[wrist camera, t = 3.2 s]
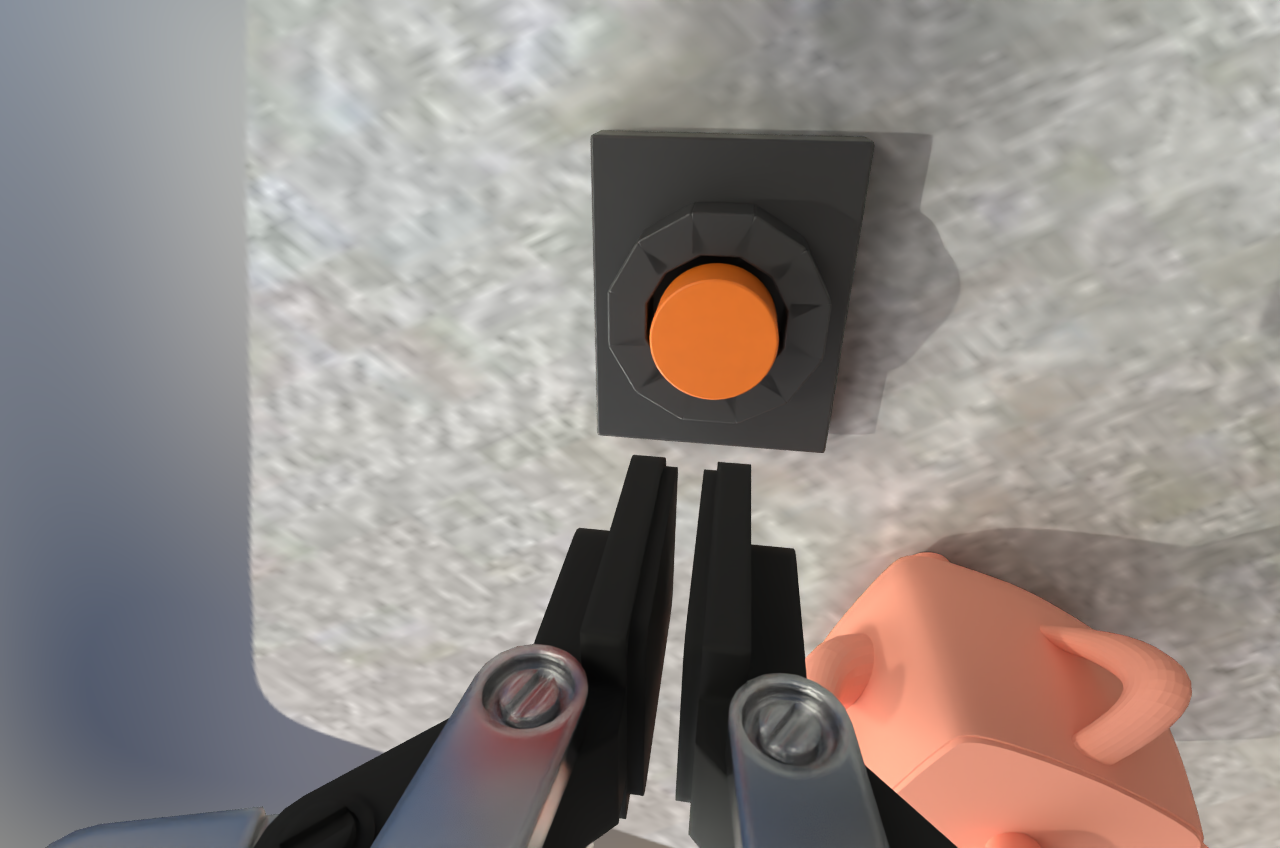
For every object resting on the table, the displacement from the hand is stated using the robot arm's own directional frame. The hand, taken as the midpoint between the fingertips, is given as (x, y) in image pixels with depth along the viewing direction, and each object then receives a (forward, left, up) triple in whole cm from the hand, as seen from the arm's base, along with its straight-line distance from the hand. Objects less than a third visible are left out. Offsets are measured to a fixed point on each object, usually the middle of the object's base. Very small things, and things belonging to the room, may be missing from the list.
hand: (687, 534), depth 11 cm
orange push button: (0, 0, -10) cm, 10 cm away
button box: (0, 0, -13) cm, 13 cm away
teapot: (+14, +10, -13) cm, 22 cm away
